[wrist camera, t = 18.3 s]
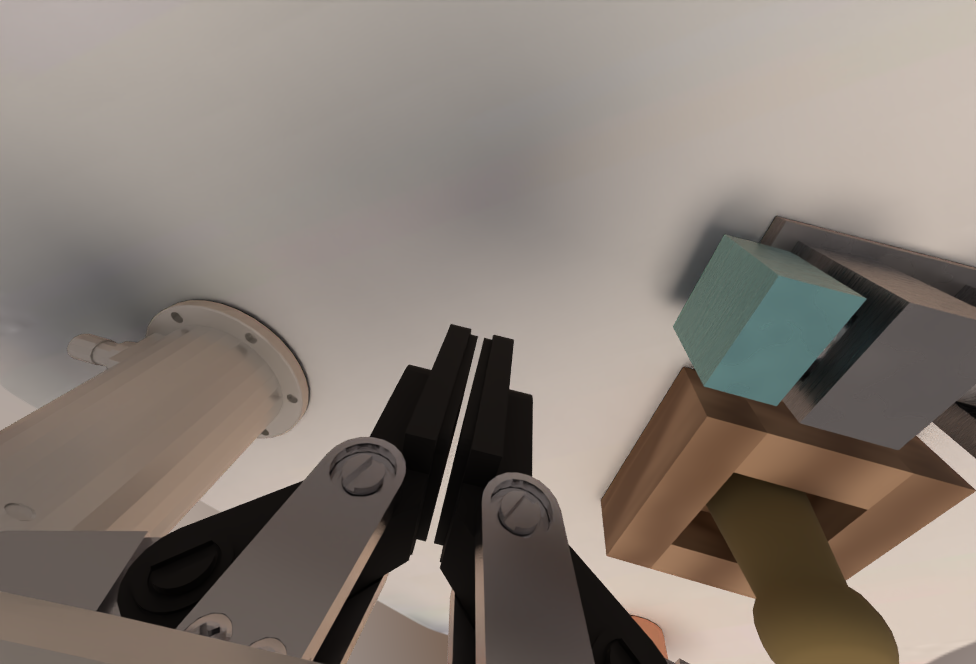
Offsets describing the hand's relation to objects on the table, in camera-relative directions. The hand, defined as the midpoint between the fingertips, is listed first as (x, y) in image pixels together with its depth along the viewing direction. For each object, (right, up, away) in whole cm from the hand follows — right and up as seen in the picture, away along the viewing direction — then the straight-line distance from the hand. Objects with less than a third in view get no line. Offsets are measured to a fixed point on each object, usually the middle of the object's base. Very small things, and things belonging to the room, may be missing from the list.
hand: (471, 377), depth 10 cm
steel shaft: (+19, +1, +8) cm, 20 cm away
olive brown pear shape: (+18, -8, +16) cm, 25 cm away
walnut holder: (+18, -9, +17) cm, 26 cm away
